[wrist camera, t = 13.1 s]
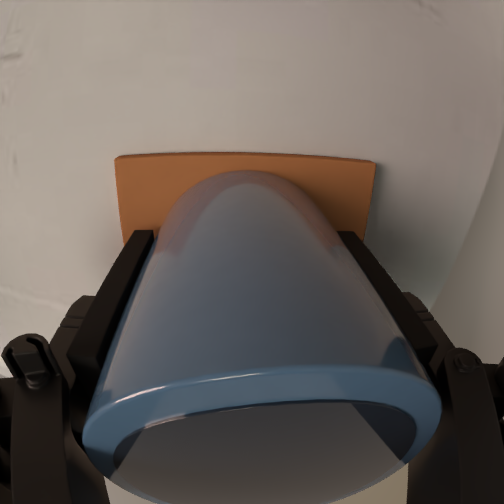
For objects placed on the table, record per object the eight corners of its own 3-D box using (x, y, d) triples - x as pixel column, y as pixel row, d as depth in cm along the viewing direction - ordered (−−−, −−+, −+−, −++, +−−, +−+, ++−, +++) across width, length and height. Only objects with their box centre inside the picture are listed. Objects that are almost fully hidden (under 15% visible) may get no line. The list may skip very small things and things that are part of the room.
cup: (340, 173, 11) (509, 335, 3) (316, 320, 15) (373, 499, 7) (151, 170, 11) (8, 353, 3) (167, 321, 14) (136, 511, 6)
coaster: (370, 160, 12) (377, 163, 11) (340, 318, 16) (343, 325, 15) (118, 155, 11) (113, 158, 10) (141, 319, 15) (139, 327, 14)
